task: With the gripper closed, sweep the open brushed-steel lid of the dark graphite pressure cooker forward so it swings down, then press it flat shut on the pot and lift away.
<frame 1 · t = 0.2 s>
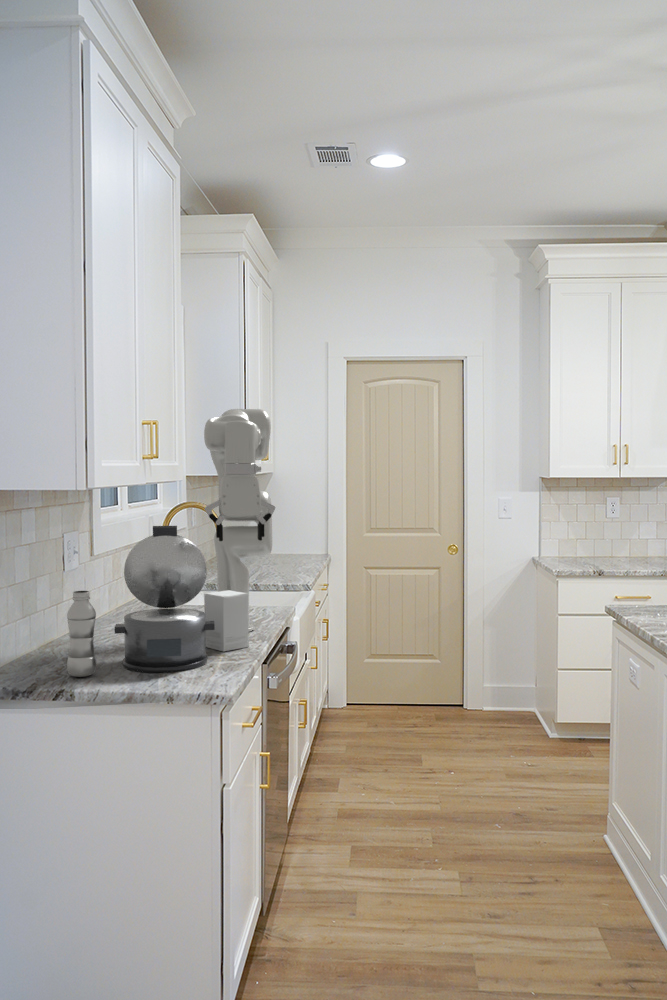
hand: (240, 540, 195), 31 cm above the table, tool pointing down, fingers open, 9 cm apart
supplement box: (226, 647, 217), on the table
plastic bottle: (81, 676, 186), on the table
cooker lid: (165, 565, 206), point 24 cm above the table, hinge at 70.0°
pressure cooker: (165, 662, 199), on the table
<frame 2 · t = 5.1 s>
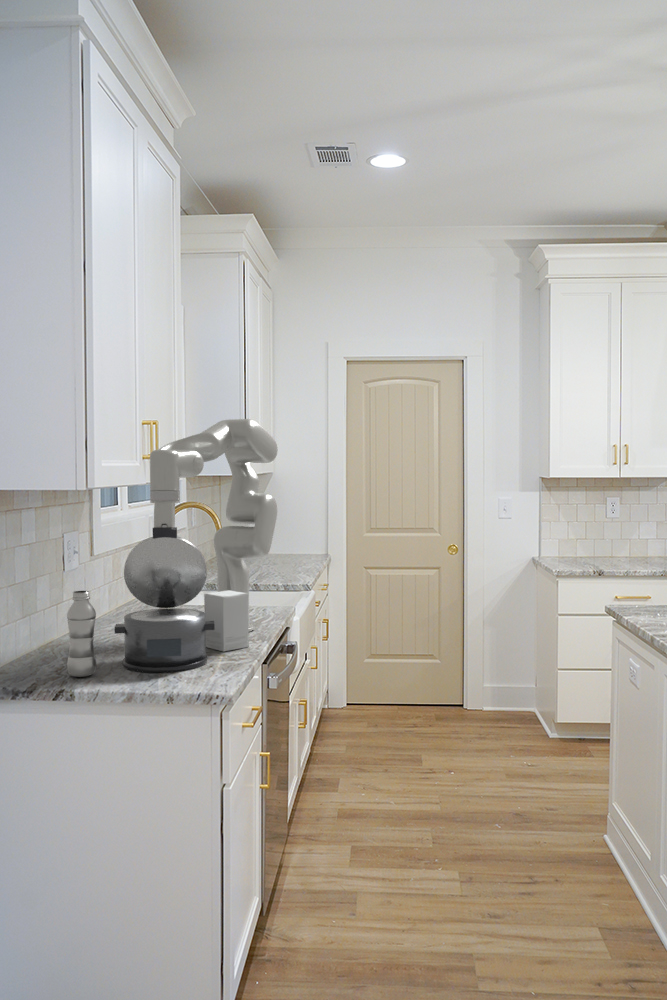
hand: (165, 567, 207), 23 cm above the table, tool pointing down, fingers closed
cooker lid: (165, 566, 206), point 23 cm above the table, hinge at 67.2°, touching gripper
everything else where it was.
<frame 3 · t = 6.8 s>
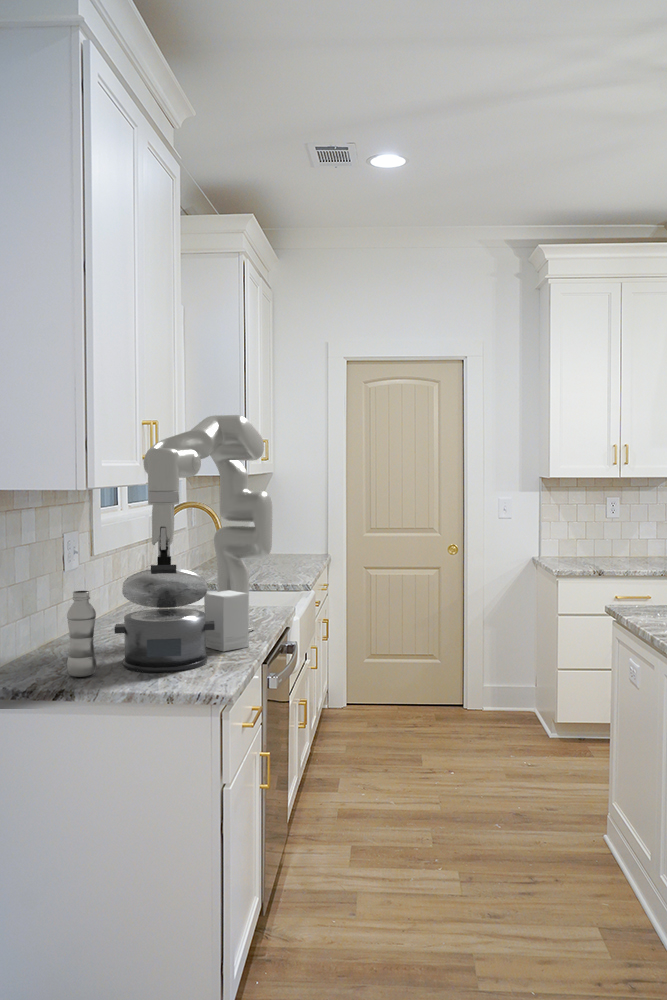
hand: (164, 572, 195), 23 cm above the table, tool pointing down, fingers closed
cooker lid: (165, 583, 200), point 20 cm above the table, hinge at 32.4°, touching gripper
everything else where it was.
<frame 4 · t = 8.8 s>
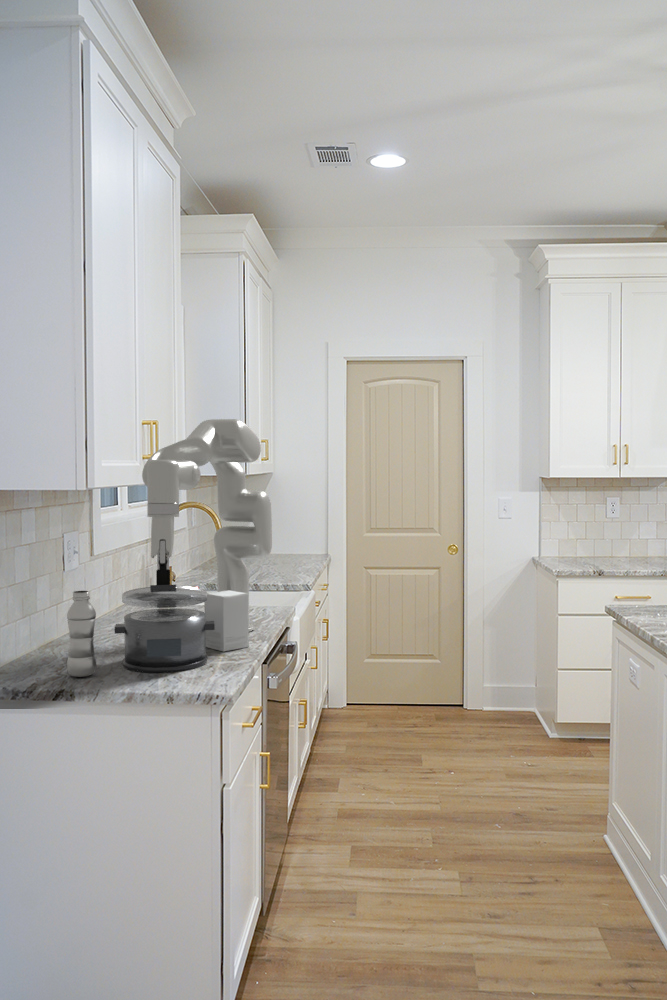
hand: (163, 586, 191), 20 cm above the table, tool pointing down, fingers closed
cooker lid: (165, 592, 198), point 18 cm above the table, hinge at 19.7°
everything else where it was.
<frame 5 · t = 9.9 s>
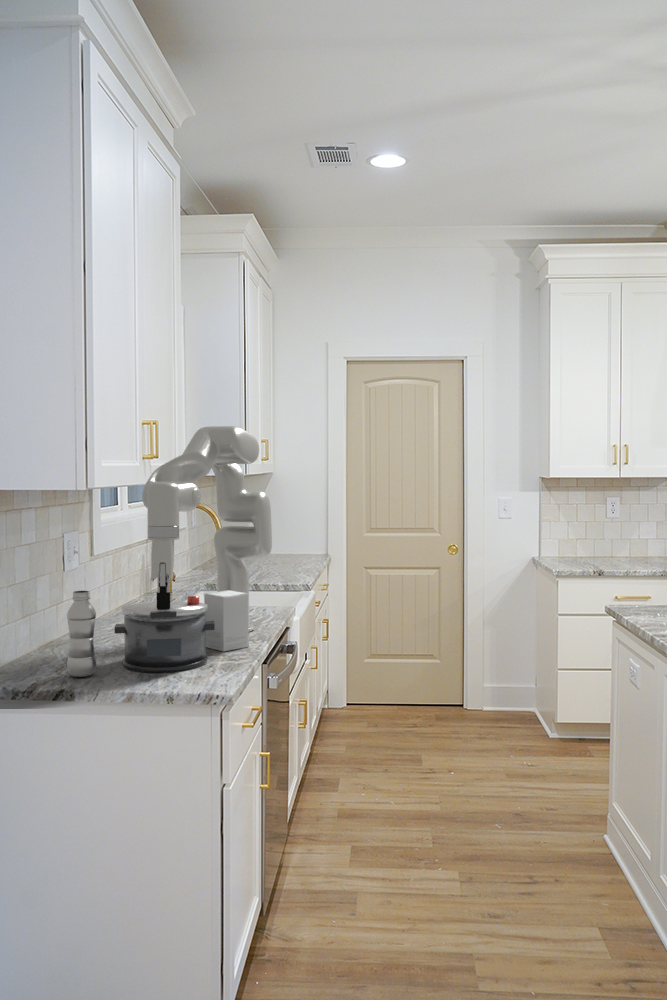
hand: (163, 608, 191), 15 cm above the table, tool pointing down, fingers closed
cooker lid: (164, 605, 197), point 15 cm above the table, hinge at 3.7°
everything else where it was.
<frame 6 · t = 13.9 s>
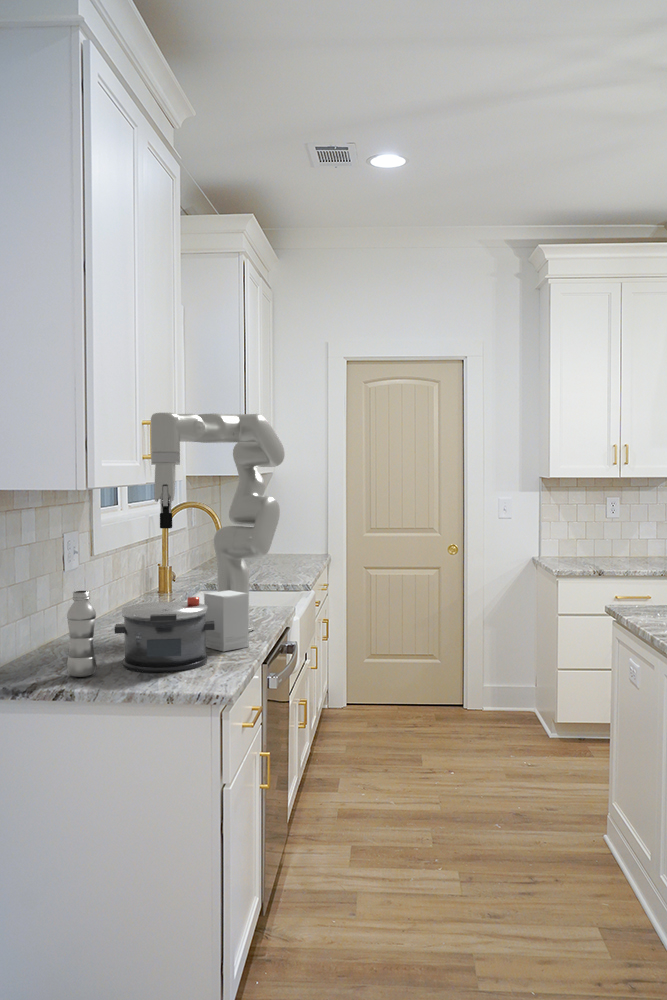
hand: (166, 528, 211), 33 cm above the table, tool pointing down, fingers closed
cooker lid: (164, 607, 197), point 14 cm above the table, hinge at 1.7°
everything else where it was.
at the end: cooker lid at +2° (first picture: +70°); supplement box moved 0.3 cm from its start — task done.
